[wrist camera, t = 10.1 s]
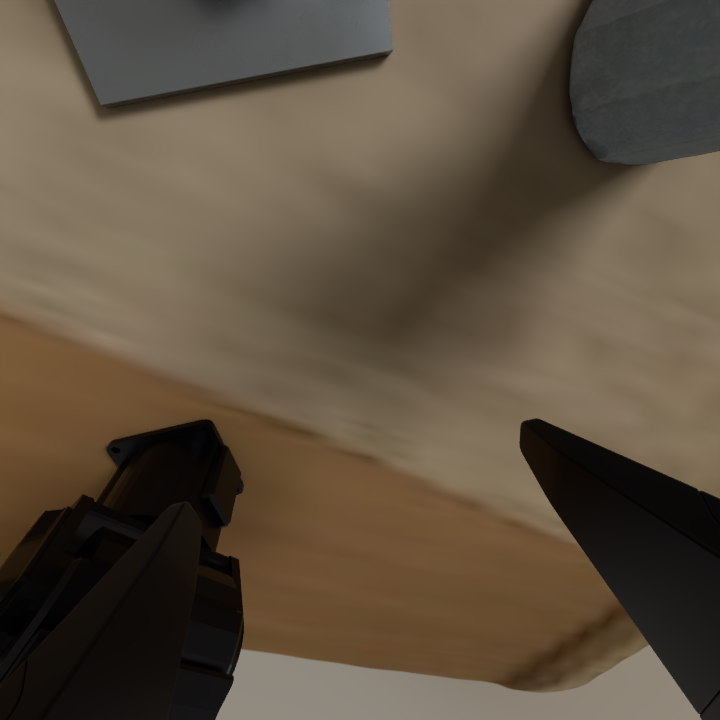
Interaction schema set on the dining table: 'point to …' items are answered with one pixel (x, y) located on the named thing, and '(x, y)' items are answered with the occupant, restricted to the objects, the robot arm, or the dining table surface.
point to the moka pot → (647, 79)
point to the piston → (216, 41)
